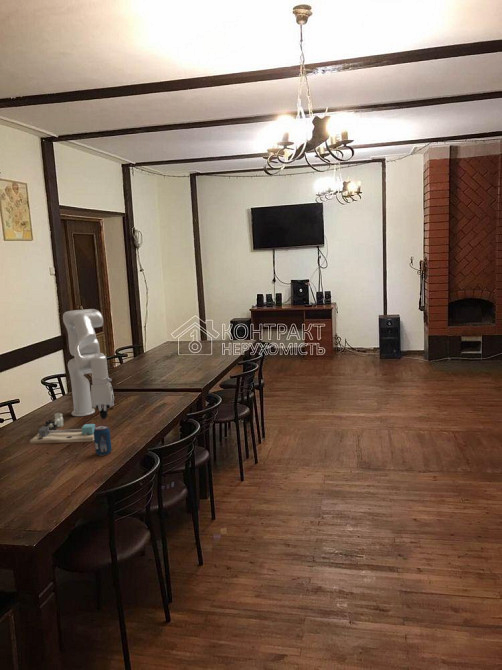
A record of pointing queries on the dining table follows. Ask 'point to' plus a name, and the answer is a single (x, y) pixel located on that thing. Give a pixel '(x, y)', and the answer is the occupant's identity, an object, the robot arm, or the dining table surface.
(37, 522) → the dining table surface
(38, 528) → the dining table surface
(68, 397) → the dining table surface
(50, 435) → the board
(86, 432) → the sliding block
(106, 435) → the soda can
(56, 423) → the valve
